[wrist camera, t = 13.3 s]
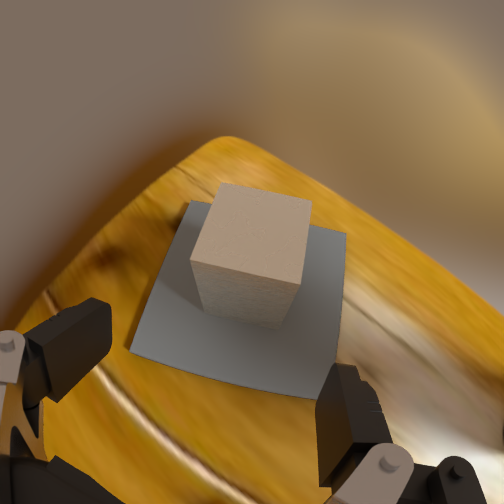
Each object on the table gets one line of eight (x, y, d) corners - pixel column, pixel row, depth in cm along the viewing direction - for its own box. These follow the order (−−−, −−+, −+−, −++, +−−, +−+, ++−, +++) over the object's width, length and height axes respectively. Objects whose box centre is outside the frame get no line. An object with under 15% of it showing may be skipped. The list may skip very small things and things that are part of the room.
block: (290, 265, 25) (312, 201, 18) (278, 330, 22) (300, 284, 15) (224, 251, 25) (221, 182, 18) (204, 312, 22) (189, 259, 15)
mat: (344, 236, 28) (354, 217, 25) (326, 401, 19) (340, 399, 17) (191, 204, 29) (188, 182, 26) (131, 352, 20) (117, 343, 18)
